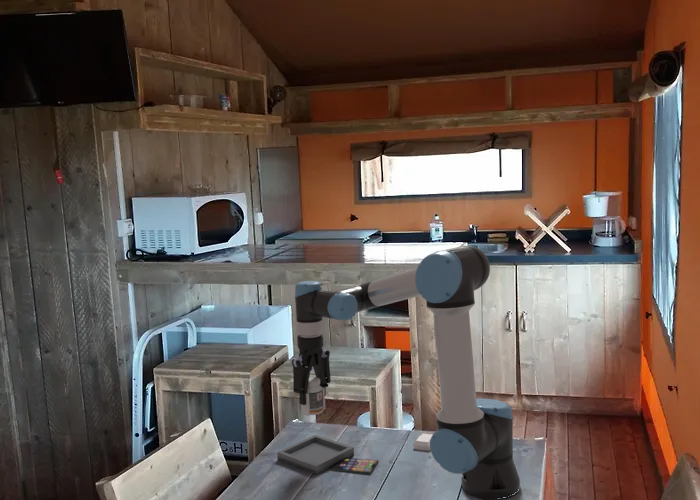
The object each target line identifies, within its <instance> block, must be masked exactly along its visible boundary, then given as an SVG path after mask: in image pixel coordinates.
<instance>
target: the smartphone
mask: <svg viewBox="0 0 700 500" xmlns="http://www.w3.org/2000/svg"><path fill="white" fill-rule="evenodd" d="M378 464H379V460H378V459H366V458H365V459H364V458H352V457H349V458H345V459H343V460H341V461H339V462H337V463H335V464H334V465H332V466H330V467H328V468H326V470H325V471H331V472H343V473H352V474H362V475H371V476H372V473H373V471H374V470H375V468H376V467H377V465H378Z"/></svg>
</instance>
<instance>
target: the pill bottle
mask: <svg viewBox="0 0 700 500" xmlns="http://www.w3.org/2000/svg"><path fill="white" fill-rule="evenodd" d="M319 384H320V379H319V378H316V376H312V377H311V376H309V382H308V388H307V393H309V403H310V415H309V416H316V415H321V414H322V413H323V412H324V409H323V396H322V387H321V386H320V385H319Z"/></svg>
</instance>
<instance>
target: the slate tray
mask: <svg viewBox="0 0 700 500" xmlns="http://www.w3.org/2000/svg"><path fill="white" fill-rule="evenodd" d="M276 454H277V460H278V461H279V462H282V463H285V464H288V465H290V466H293V467H296V468H297V469H298V468H299V469H301V470H304V471H306V472H309V473H311V474H314V475H319V474H321V473H323V472H324V471H327V470H326V468H328V467H330V466H332V465H334V464H335V463H337V462H339V461H341V460H343V459H345V458H352V457H353V456H355V448H354V446H351V445H348V444H344V443H343V442H339V441H336V440H332V439H330V438H326V437H323V436H321V435H317V434H314V435H312V436H310V437H307V438H305V439H303V440H301V441H298V442H297V443H294V444H292V445H290V446H288V447H284V449H281V450H279V451H277V453H276Z"/></svg>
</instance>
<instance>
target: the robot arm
mask: <svg viewBox="0 0 700 500" xmlns="http://www.w3.org/2000/svg"><path fill="white" fill-rule="evenodd" d="M490 273H491V264H490V261H489V258H488V257H487V255H486V253H484V251H482V250H481V249H479V248H478V247H475V246H473V245H461V246H460V245H459V246H457V247H452V248H446V249H441V250H436V251H435V252H432V253H430V254H428V255H427V256H425V257H424V258H423V259H422V260H421V261H420V262H419V264H418V266H417V267H416V268H413V269H409V270H406V271H402V272H398V273H396V274H392V275H389V276H385V277H382V278H379V279H375V280H373V281H368V282H364V283H362V284H358V285H355V286H352V287H347V288H343V289H340V290H333V291H332V290H323V289H322V284H321V282H319V281H317V280H303V281H299V282H297V283H296V284H295V287H294V289H295V290H294V300H295V315H296V318H295V319H296V334H297V338H296V339H297V349H298V350H299V353H298V357H297V358H296V359H295V358H294V359H292V360H291V364H292V371H293V372H292V373H293V374H292V377H293V378H292V379H293V380H292V381H293V382H292V383H293V386H292V387H293V392H294V394H299V404H300V407H301V415H303V416H306V417H310V416H311V415H310V403H309V393H307V388H308V382H309V378H310V377H311V376H310V374H311V371H312V370H313V372H314V375H315V377H316V378H319V379H320V384H319V385H320V386H321V387H322V396H323V410H326V396H327V393H326V391H327V389H326V388H328V387H329V384H330V383H331V369H330V368H331V367H330V353H331V352H330V350H328V349H327V350H326V349H323V347H324V335H323V333H324V328H323V327H324V326H323V325H324V324H323V318H325V319H333V320H336V321H349V320H352V319H353V317H354V316H356V314H357V313H360V312H363V311H366V310H367V311H368V310H371V309H374V308H379V307H381V306H385V305H389V304H395V303H397V302H401V301H405V300H409V299H413V298H416V297H417V298H418V297H420V296H421V297H422V298H423V299H424V300H425V301H426V302H425V304H426V308H427V309H428V310H429V311H430V312H432V314H433V322H434V333H435V334H434V335H435V345H436V356H437V358H436V359H437V366H438V367H437V368H438V379H439V391H440V401H441V403H440V404H441V409H440V410H439V411H438V412H437V413H436V428H437V430H434V432H433V433H434V434H433V435H432V437H431V439H430V453H431V455H432V457H433V459H434V460H435V462H436V464H439V466H440V467H441V468H442V469H444V471H447V472H449V473H451V474H457V475H460V474H461V488H462V490H463V491H464V492H466V493H467V494H468V495H471V496H473V497H475V498H480V499H486V500H498V499H497V498H503V497H508V496H510V495H512V494H514V493H515V492H517V491H518V489H519V487H520V488H521V480H520V476H519V473H518V471H517V468H516V464H515V462H514V459H513V458H514V456H513V451H514V450H513V448H514V447H513V446H514V445H513V443H514V442H513V441H514V440H513V439H514V438H513V437H514V436H513V427H514V426H513V420H514V417H513V408H512V407H511V405H509V404H508V403H507V402H505V401H501V400H497V399H493V398H492V399H491V398H477V391H476V381H475V369H474V355H473V354H474V353H473V343H472V331H471V322H470V321H471V320H470V319H471V318H470V310H471V309H472V308H473V307H474V306H475V304H476V302H475V291H476V290H478V289H480V288H482V287H483V286H484V285H485V284H486V282H487V281H488V280H489V279H488V278H489V276H490ZM508 498H509V497H508Z"/></svg>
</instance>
